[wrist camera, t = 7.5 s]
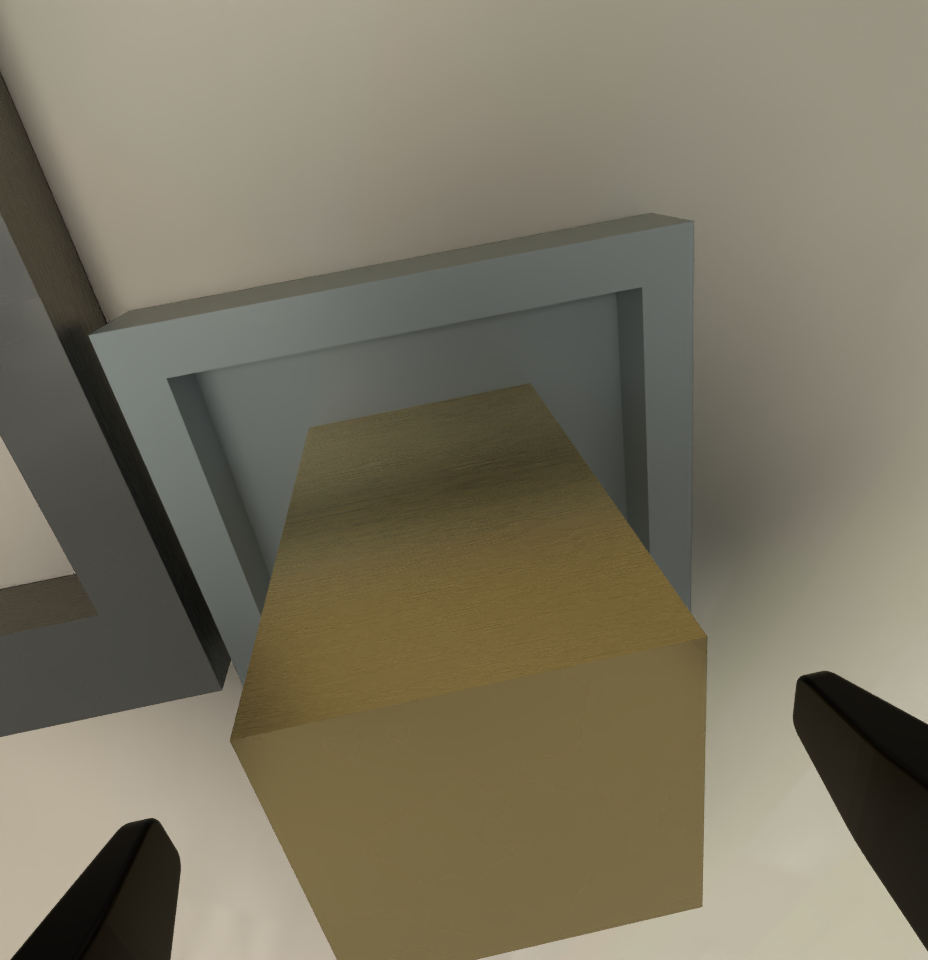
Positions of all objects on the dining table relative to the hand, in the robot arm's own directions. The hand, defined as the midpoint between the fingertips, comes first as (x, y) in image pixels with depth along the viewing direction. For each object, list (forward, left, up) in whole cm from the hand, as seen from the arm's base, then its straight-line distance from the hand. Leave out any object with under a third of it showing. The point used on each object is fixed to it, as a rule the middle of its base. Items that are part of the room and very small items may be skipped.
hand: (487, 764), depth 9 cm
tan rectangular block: (0, 0, -7) cm, 7 cm away
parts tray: (0, 0, -8) cm, 8 cm away
